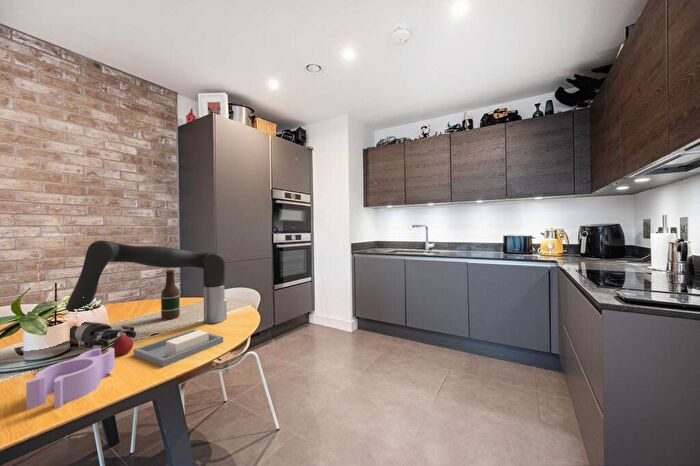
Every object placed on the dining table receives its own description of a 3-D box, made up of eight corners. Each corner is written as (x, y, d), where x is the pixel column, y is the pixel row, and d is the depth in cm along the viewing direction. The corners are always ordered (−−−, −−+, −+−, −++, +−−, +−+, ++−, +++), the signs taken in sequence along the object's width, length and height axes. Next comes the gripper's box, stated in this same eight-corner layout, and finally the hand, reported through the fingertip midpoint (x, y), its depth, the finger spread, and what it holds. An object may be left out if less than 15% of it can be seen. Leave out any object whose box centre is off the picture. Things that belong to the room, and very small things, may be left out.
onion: (121, 360, 95) (120, 337, 95) (107, 359, 96) (107, 336, 96) (137, 353, 101) (137, 331, 101) (124, 351, 102) (124, 330, 102)
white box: (198, 342, 107) (198, 330, 107) (208, 345, 105) (208, 332, 105) (165, 355, 97) (165, 341, 97) (176, 359, 94) (176, 344, 94)
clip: (86, 369, 89) (85, 348, 89) (126, 368, 90) (126, 347, 90) (15, 410, 69) (14, 383, 69) (68, 408, 70) (67, 381, 70)
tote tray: (194, 336, 117) (193, 329, 117) (223, 344, 108) (223, 336, 108) (133, 357, 97) (133, 349, 97) (163, 370, 89) (163, 360, 89)
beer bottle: (157, 319, 138) (156, 271, 138) (170, 314, 146) (169, 269, 145) (171, 320, 137) (170, 271, 136) (183, 315, 144) (182, 269, 144)
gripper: (68, 329, 98) (97, 335, 92) (115, 317, 111) (142, 322, 105) (69, 350, 98) (97, 358, 92) (115, 336, 111) (142, 341, 106)
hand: (121, 339), depth 99 cm, fingers open, 8 cm apart
